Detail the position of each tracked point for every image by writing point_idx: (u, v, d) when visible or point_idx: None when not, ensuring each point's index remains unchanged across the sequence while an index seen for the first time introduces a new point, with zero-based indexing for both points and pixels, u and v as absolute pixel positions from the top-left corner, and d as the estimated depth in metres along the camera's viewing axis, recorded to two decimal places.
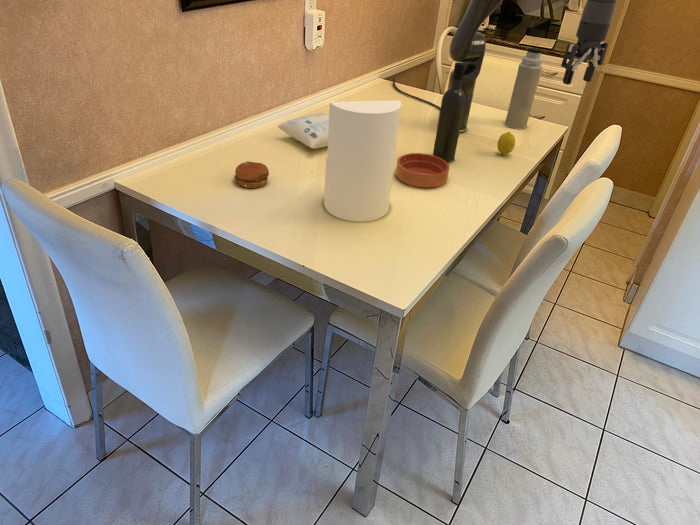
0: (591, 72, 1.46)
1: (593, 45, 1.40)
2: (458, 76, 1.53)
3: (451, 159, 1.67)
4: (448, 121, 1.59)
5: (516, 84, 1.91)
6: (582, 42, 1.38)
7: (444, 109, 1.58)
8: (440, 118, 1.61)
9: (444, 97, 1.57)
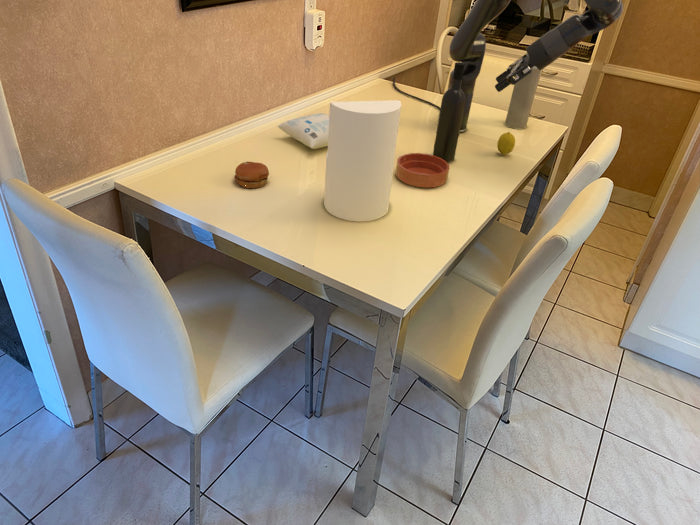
0: None
1: None
2: (458, 76, 1.53)
3: (451, 159, 1.67)
4: (448, 121, 1.59)
5: (516, 84, 1.91)
6: (532, 66, 1.44)
7: (444, 109, 1.58)
8: (440, 118, 1.61)
9: (444, 97, 1.57)
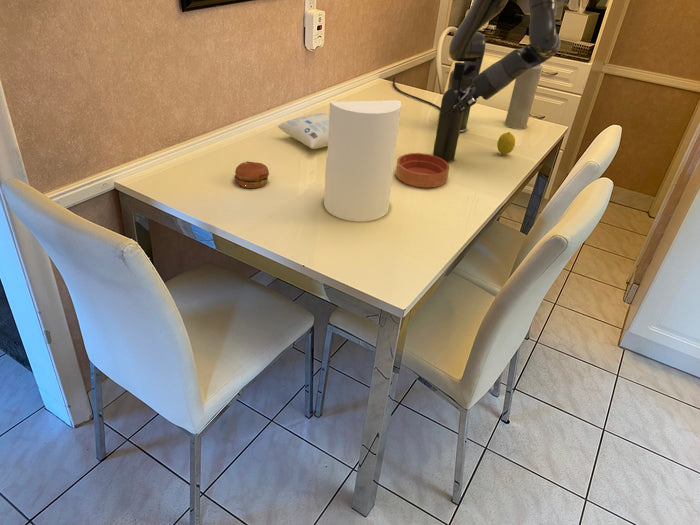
0: None
1: None
2: (458, 76, 1.53)
3: (451, 159, 1.67)
4: (448, 121, 1.59)
5: (516, 84, 1.91)
6: (478, 96, 1.52)
7: (444, 109, 1.58)
8: (440, 118, 1.61)
9: (444, 97, 1.57)
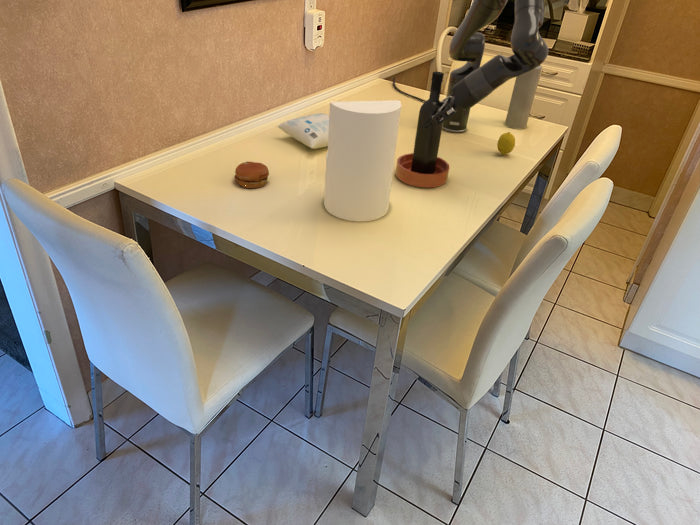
0: None
1: None
2: (436, 86, 1.40)
3: None
4: (426, 135, 1.46)
5: (516, 84, 1.91)
6: (457, 106, 1.39)
7: (421, 122, 1.46)
8: (418, 132, 1.48)
9: (421, 109, 1.44)
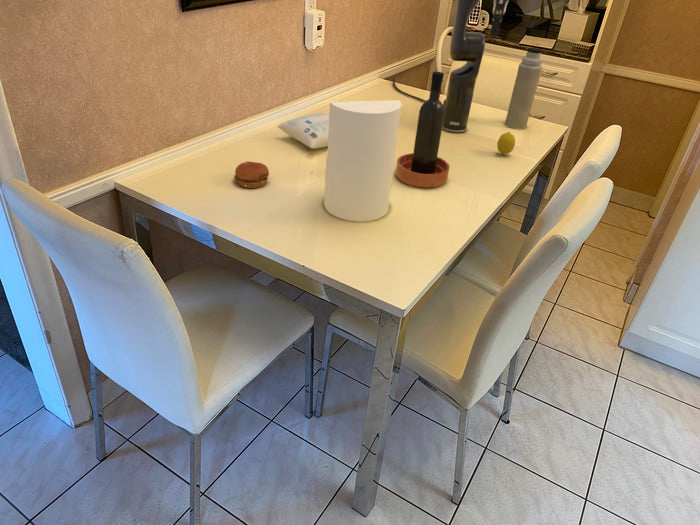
0: None
1: None
2: (436, 86, 1.40)
3: None
4: (426, 135, 1.46)
5: (516, 84, 1.91)
6: None
7: (421, 122, 1.46)
8: (418, 132, 1.48)
9: (421, 109, 1.44)
